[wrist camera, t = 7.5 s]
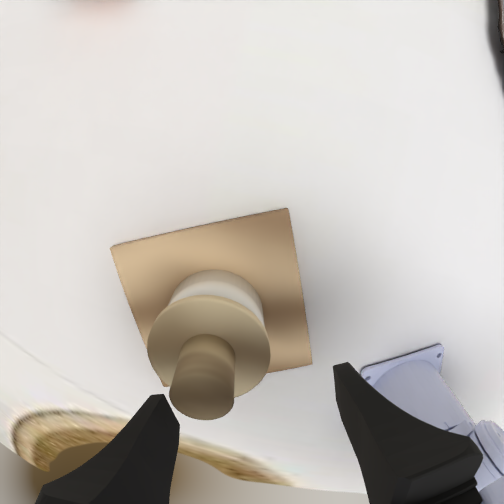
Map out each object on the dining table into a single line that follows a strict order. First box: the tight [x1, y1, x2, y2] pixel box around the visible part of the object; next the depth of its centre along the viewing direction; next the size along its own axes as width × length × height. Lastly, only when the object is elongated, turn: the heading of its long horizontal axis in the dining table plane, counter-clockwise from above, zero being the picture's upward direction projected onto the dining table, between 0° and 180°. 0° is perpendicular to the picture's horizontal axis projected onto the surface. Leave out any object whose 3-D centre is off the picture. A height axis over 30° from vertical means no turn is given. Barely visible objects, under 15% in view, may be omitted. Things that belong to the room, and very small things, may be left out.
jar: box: [168, 269, 265, 327], centre depth 20 cm, size 6×6×4 cm
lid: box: [147, 295, 271, 420], centre depth 16 cm, size 7×7×4 cm
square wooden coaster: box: [110, 208, 312, 387], centre depth 22 cm, size 12×12×1 cm
